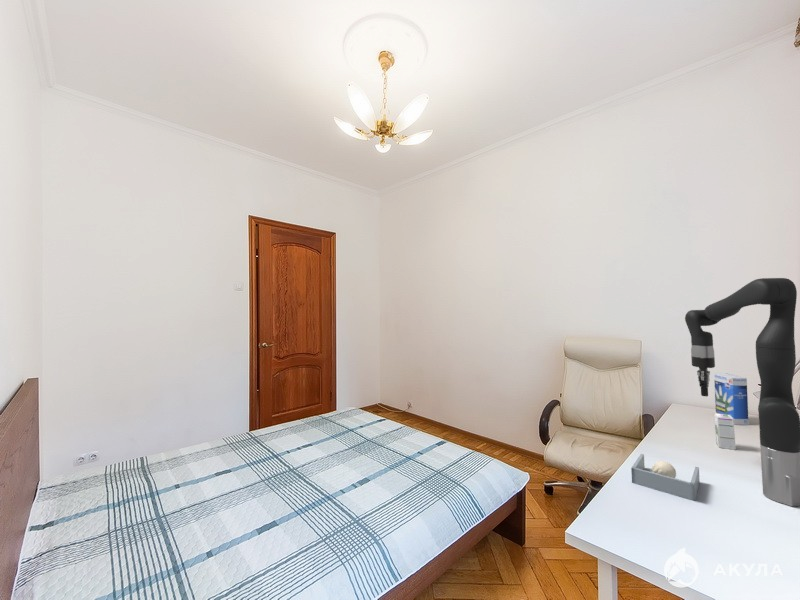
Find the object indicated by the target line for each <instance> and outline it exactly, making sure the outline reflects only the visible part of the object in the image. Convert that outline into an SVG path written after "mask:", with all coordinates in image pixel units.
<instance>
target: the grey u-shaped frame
mask: <svg viewBox="0 0 800 600" xmlns="http://www.w3.org/2000/svg"><path fill="white" fill-rule="evenodd" d="M645 466H646V465H645V454H644V453H640V454H639V456H638V458H637V459H636V460H635V462H634V463H633V465H632V466H631V483H633V484H636V485H638V486H643V487H646V488H648V489H649V488H650V489H653V490H657V491H658V492H662V493H666V494H669V495H673V496H676V497H680V498H684V499H686V500H690V501H693V502H696V500H697V499H696V498H697V496H698V489H699V488H700V487H699V486H700V483H701V481H700V468H699V467H698V466H695V467H694V471H693V474H692V476H691V480H690V482H689V481H687V480H682V479H678V478H676V477H675V478H672V477H668V476H664V475H660V474H657V473H653V471H649V470H645V469H646V468H645Z"/></svg>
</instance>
